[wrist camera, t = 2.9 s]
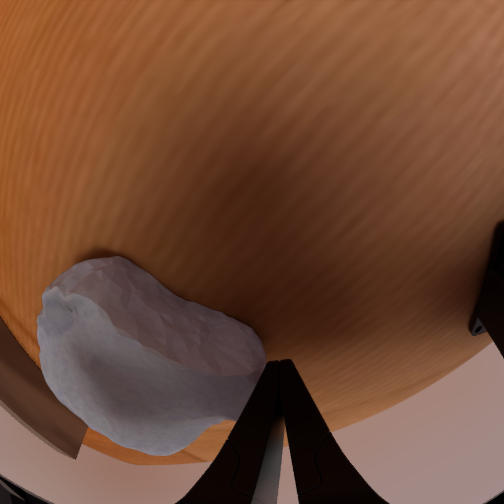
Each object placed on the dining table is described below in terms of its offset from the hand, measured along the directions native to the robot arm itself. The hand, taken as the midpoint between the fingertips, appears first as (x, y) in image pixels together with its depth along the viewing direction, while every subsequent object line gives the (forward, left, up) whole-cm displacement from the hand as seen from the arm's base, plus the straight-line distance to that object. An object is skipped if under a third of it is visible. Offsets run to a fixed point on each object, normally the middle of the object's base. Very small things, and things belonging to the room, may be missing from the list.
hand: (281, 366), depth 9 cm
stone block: (+8, +1, -3) cm, 8 cm away
